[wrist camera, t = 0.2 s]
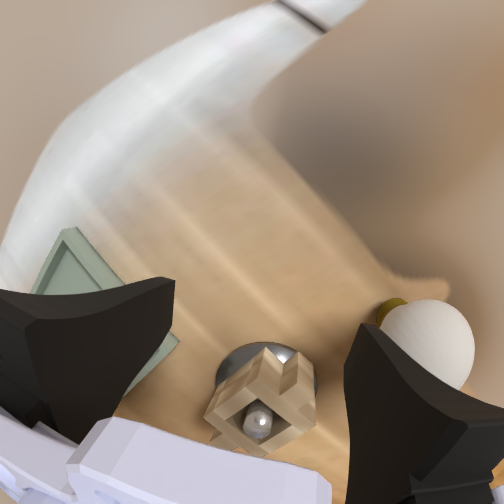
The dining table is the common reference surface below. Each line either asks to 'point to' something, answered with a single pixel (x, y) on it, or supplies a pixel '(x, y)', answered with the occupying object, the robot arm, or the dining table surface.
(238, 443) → the beige hollow block
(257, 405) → the grey metal round stand
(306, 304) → the dining table surface
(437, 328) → the light bulb
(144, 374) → the tray
